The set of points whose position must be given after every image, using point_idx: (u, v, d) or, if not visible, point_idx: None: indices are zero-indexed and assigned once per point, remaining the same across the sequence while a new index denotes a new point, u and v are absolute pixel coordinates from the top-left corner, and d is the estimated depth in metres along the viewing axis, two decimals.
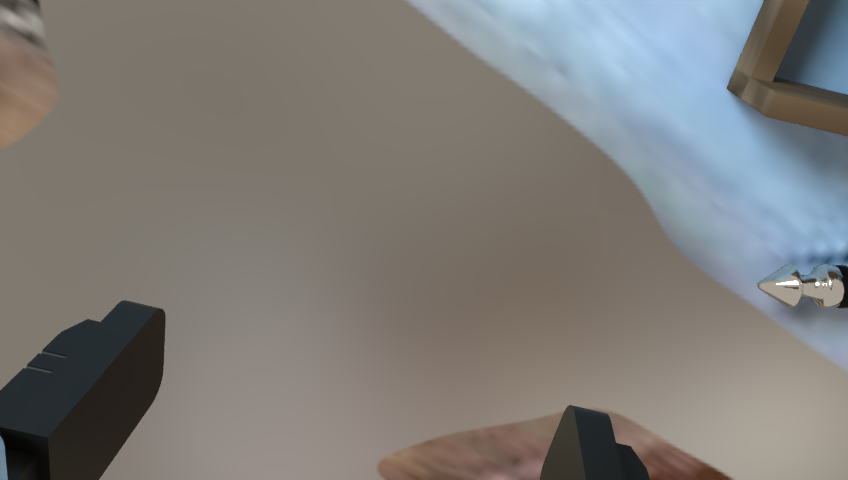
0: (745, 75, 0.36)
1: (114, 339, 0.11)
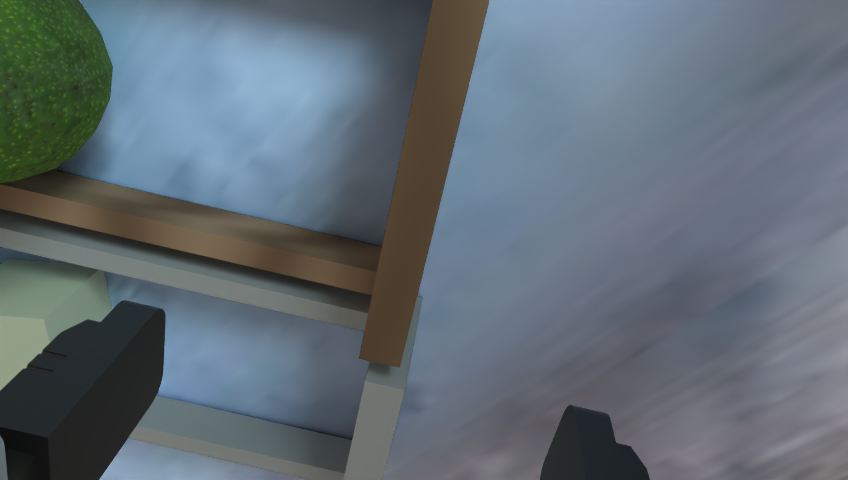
0: None
1: (114, 339, 0.11)
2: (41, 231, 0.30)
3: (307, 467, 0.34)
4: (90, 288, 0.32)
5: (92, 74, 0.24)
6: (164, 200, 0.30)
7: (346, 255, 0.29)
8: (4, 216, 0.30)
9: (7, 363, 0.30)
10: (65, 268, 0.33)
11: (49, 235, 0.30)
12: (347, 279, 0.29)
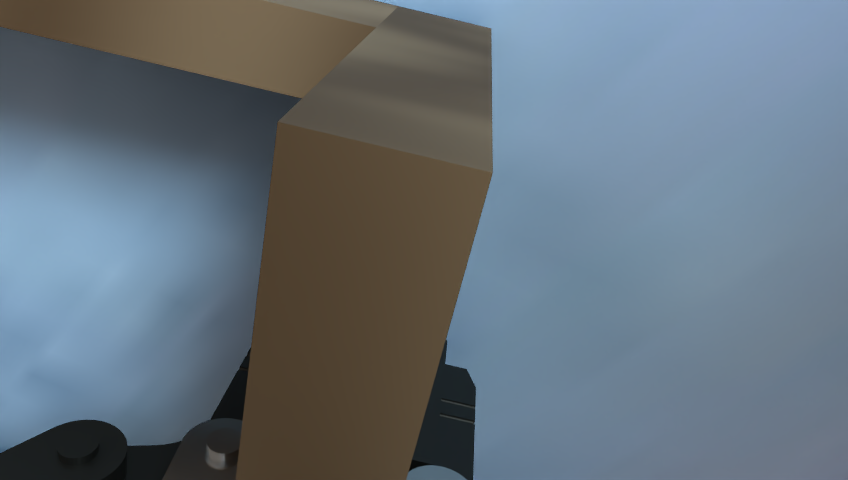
0: None
1: None
2: None
3: None
4: None
5: None
6: None
7: None
8: None
9: None
10: None
11: None
12: None
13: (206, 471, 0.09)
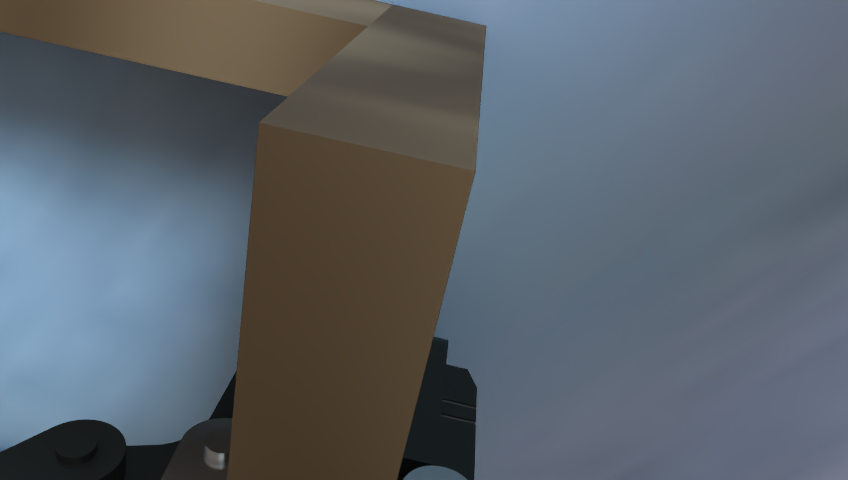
0: None
1: None
2: None
3: None
4: None
5: None
6: None
7: None
8: None
9: None
10: None
11: None
12: None
13: (205, 471, 0.09)
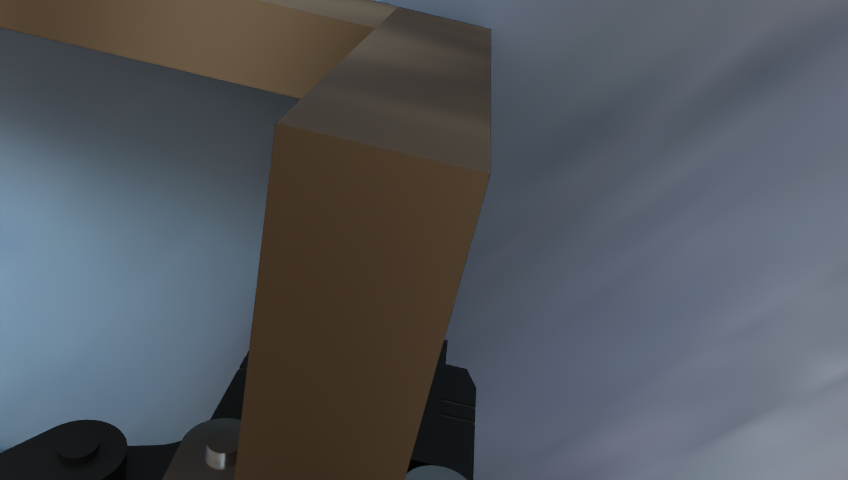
0: None
1: None
2: None
3: None
4: None
5: None
6: None
7: None
8: None
9: None
10: None
11: None
12: None
13: (206, 471, 0.09)
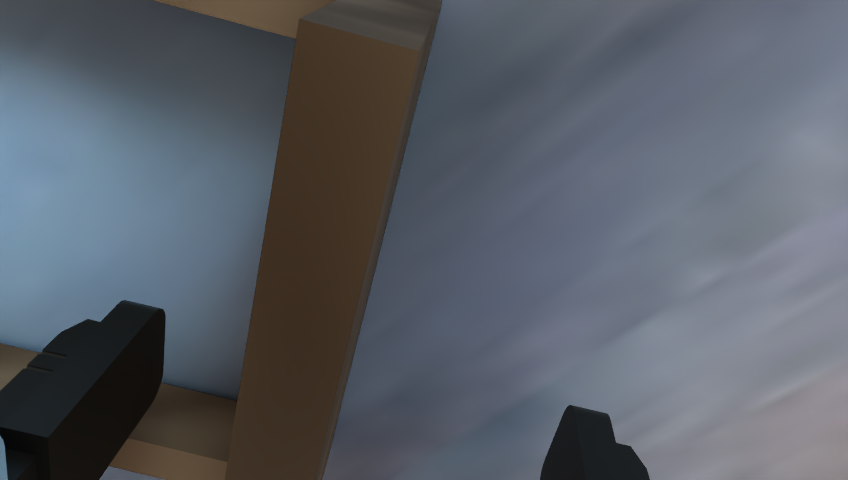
0: None
1: (114, 339, 0.11)
2: None
3: None
4: None
5: None
6: None
7: (210, 434, 0.19)
8: None
9: None
10: None
11: None
12: (208, 476, 0.18)
13: None
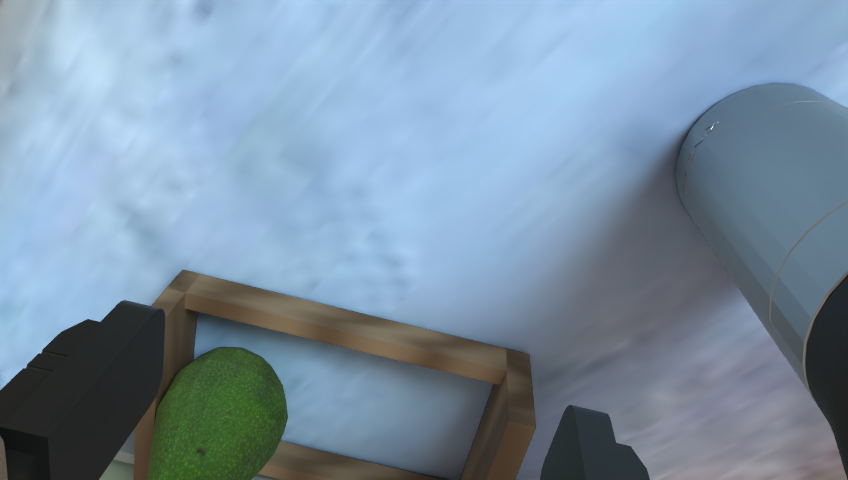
0: (188, 287, 0.42)
1: (114, 339, 0.11)
2: None
3: None
4: None
5: (284, 424, 0.42)
6: (319, 455, 0.49)
7: None
8: None
9: None
10: None
11: None
12: None
13: None
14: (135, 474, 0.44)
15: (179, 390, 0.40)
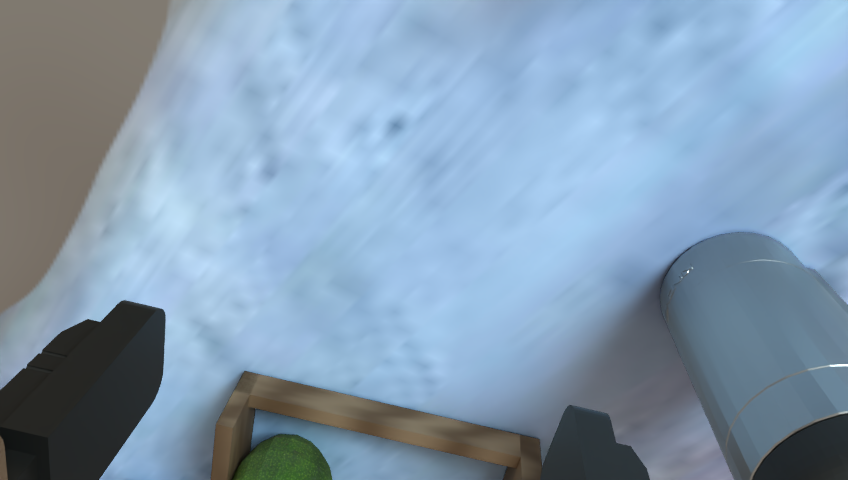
0: (251, 388, 0.50)
1: (114, 339, 0.11)
2: None
3: None
4: None
5: None
6: None
7: None
8: None
9: None
10: None
11: None
12: None
13: None
14: None
15: (247, 479, 0.48)
